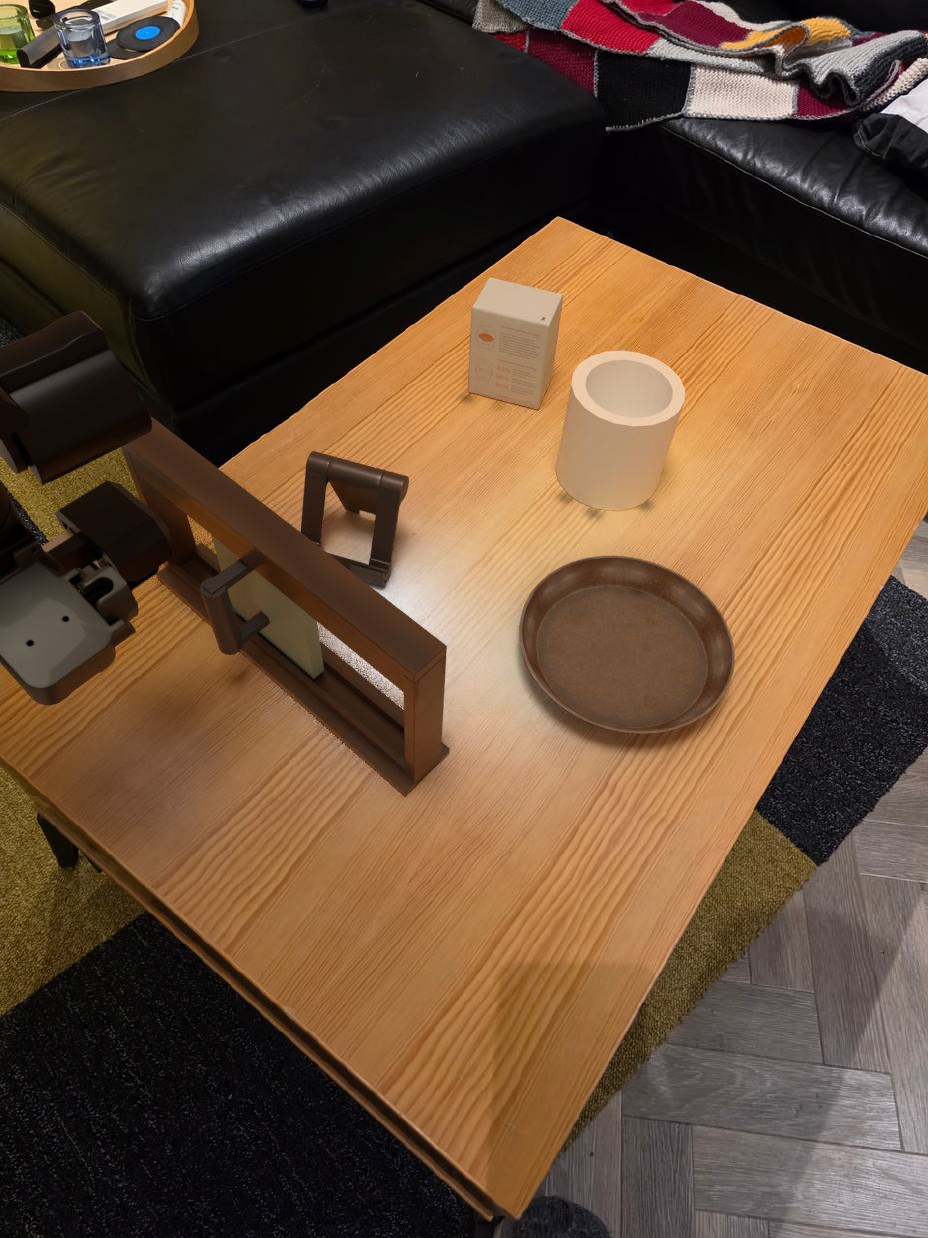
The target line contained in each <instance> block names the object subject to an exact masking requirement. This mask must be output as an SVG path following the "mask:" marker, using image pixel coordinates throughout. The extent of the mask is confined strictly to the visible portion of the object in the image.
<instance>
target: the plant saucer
mask: <svg viewBox="0 0 928 1238" xmlns="http://www.w3.org/2000/svg"><path fill="white" fill-rule="evenodd" d="M520 615H521V616H520V620H519V628H518V637H519V646H520V650H521V653H522V657H523V659H524V663H525V664H526V667H527V668H528V670H529V672H530V674H531V675H532V677H533V679H534V680H535V682H536V683H537V685H538V686H539V687H540V688H541V689H542V690H543V692H544V693H545V694H546V695H547V696H548V697H549V698H550V699H551V700H552V701H553V702H555V704H557V705H558V706H559V707H561V708H562V709H563V710H565V711H566V712H567V713H569V714H571V715H572V716H573V717H575V718H577V719H579V720H581V721H583V722H585V723H587V724H590V725H591V726H595V727H597V728H600V729H603V730H607V731H612V732H616V733H622V734H631V735H650V734H659V733H665V732H671V731H673V730H676V729H681V728H683V727H686V726H688V725H691V724H692V723H694V722H696V721H698V720H700V719H701V718H702V717H704V716H706V715H707V714H709V713H710V712H711V711H712V710H713V709H714V708H715V707H716V706H717V705H718V704H719V703H720V701H721V700H722V699H723V698H724V696H725V694H726V692H727V691H728V689H729V687H730V684H731V683H732V678H733V675H734V670H735V664H736V655H735V647H734V641H733V636H732V633H731V631H730V628H729V626H728V624H727V621H726V619H725V618H724V616H723V613H722V612H721V611H720V610H719V608H718V607H717V605H716V604H715V603H714V602H713V600H712V599H711V598H710V597H709V596H708V595H707V593H705V592H704V591H703V590H702V589H701V588H699V586H698V585H696V584H695V583H693V582H692V581H691V580H689V578H686V576H684V575H682V574H680V573H679V572H677V571H675V570H672V569H670V568H668V567H666V566H664V565H662V564H660V563H656V562H653V561H650V560H647V559H643V558H636V557H632V556H626V555H597V556H590V557H585V558H581V559H577V560H575V561H571V562H569V563H567V564H564V565H562V566H560V567H558V568H556V569H554V570H553V571H551V572H550V573H548V574H547V575H546V576H545V577H544V578H543V579H541V581H539V582H538V584H536V586H535V587H534V588H533V590H532V591H531V592H530V593H529V595H528V597H527V599H526V601H525V603H524V605H523V608H522V611H521V614H520Z"/></svg>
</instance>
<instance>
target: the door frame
mask: <svg viewBox="0 0 928 1238" xmlns="http://www.w3.org/2000/svg"><path fill="white" fill-rule="evenodd" d="M151 419H152V430H151V432H150V433H148V434H146V435H144V436H142V437H140V438H138V439H136V440H134V441H132V442H130V443H128V444H126V445H124V446H122V447H120V449H121V451H122V453H123V454H122V455H123V457H124V460H125V462H126V466H127V468H128V470H129V473H130V476H131V479H132V481H133V484H134V487H135V490H136V492H137V496H138V497H139V498H138V499H139V500H140V501H141V502H142V503H143V504H145V505H146V506H147V507H148V508H149V509H151V510H152V511H153V512H154V513H155V514H157V515H158V516H159V517H160V518H161V519H162V521H163V522H164V523H165V525H166V526H167V528H168V529H169V531H170V534H171V537H172V540H173V543H174V546H175V549H174V555H173V557H172V558H171V559H169V560H168V561H166V562H165V563H164V564H163V566H164V567H163V568H161V569H159V570H158V572H157V573H156V574H155V576H156V578H157V580H158V581H159V582H160V583H161V584H162V585H163V586H165V587H166V588H167V589H169V591H171V593H173V594H174V595H175V597H177V598H178V599H179V600H181V601H182V602H183V603H184V605H186V606H188V607H189V609H191V610H192V611H193V612H194V613H195V614H197V615H198V616H199V617H200V618H201V619H202V620H203V621H204V622H205V623H206V624H208V625H209V626H210V627H212V625H211V622H210V619H209V616H208V613H207V610H206V607H205V604H204V601H203V598H202V595H201V592H200V586H201V584H202V582H203V581H204V580H206V579H208V578H211V577H215V576H216V575H218V574H219V573H221V568H220V565H219V561H218V558H217V554H216V552H215V551H213V550H212V549H210V547H208V546H207V545H205V544H204V543H203V542H199V543H198V544H197V543H196V539H195V537H194V533H193V530H192V526H191V523H190V520H189V518H190V519H192V520H193V521H194V522H196V524H197V525H198V526H200V528H203V529H204V530H205V531H206V532H207V533H208V534H210V536H211V535H212V536H214V537H215V538H216V539H217V540H218V541H220V542H221V543H222V544H223V545H225V546H226V547H227V548H228V549H229V550H231V551H232V552H233V553H234V554H235V555H237V556H238V557H239V558H240V559H242V560H243V561H244V562H245V563H246V564H248V565H249V566H250V567H251V568H253V569H254V570H255V571H256V572H257V573H259V574H260V575H261V576H262V577H264V578H265V579H266V580H267V581H268V582H270V583H271V584H272V585H273V586H274V587H276V588H277V589H278V590H279V591H281V592H282V593H283V594H284V595H285V596H287V597H288V598H289V599H290V600H292V601H293V602H294V603H295V604H296V605H298V606H299V607H300V608H301V609H302V610H304V611H305V612H306V613H307V614H309V615H310V616H311V617H312V618H313V619H315V620H316V621H317V624H319V625H320V626H322V627H323V628H324V629H325V630H327V632H329V633H330V634H331V635H333V637H335V638H336V639H338V640H339V641H340V642H341V643H342V644H344V645H345V646H346V647H347V648H349V649H350V650H351V651H352V652H353V653H354V654H356V655H357V656H358V657H359V658H361V659H362V660H363V661H364V662H366V663H367V664H368V665H369V666H371V667H372V668H373V669H374V670H375V671H376V672H378V673H379V674H380V675H382V676H383V677H384V678H385V679H386V680H388V681H389V682H390V683H391V684H392V685H394V686H395V687H396V688H397V689H398V690H400V691H401V692H402V693H403V708H402V707H401V706H399V705H398V704H397V703H396V702H395V701H393V700H392V699H391V698H390V697H388V695H386V694H385V693H384V692H383V691H381V689H379V688H378V687H376V685H374V684H373V683H372V682H371V681H370V680H368V679H367V678H366V677H365V676H363V674H361V673H360V672H359V671H357V670H356V669H355V668H353V666H352V665H350V664H349V663H348V662H347V661H345V660H344V659H343V658H342V657H341V656H339V655H338V654H337V653H336V652H335V651H334V650H333V649H331V648H330V647H329V646H327V645H326V644H325V643H324V642H322V641H321V640H320V645H321V652H322V658H323V664H324V671H323V672H322V673H321V674H319V675H318V676H317V677H316V678H315V679H313V678H311V677H310V676H309V675H308V674H307V673H306V672H304V671H303V670H302V669H301V668H300V667H299V666H297V665H296V664H295V663H294V662H293V661H292V660H290V659H289V658H288V657H287V656H286V655H285V654H283V653H282V652H281V651H280V650H279V649H278V648H276V647H275V646H274V645H273V644H272V643H271V642H269V641H268V640H267V639H266V638H265V637H264V636H262V635H261V634H260V633H259V632H258V633H257V634H256V635H254V636H253V637H252V638H251V639H249V640H248V641H247V642H245V643H244V644H243V646H242V648H241V650H240V651H239V653H241V654H242V655H243V656H245V658H246V659H248V660H249V661H250V662H251V663H252V664H253V665H255V667H256V668H258V669H259V670H260V671H262V673H264V674H265V675H266V676H267V677H268V678H269V679H271V681H273V682H274V683H275V684H276V685H277V686H278V687H279V688H281V689H282V691H284V692H285V693H287V694H288V695H289V696H290V697H291V698H292V699H293V700H295V702H297V703H298V704H299V705H300V706H301V707H302V708H303V709H304V710H306V711H307V712H308V713H309V714H310V715H312V716H313V717H314V718H315V719H316V720H317V721H318V722H319V723H321V724H322V725H323V726H324V727H325V728H326V729H327V730H328V731H329V732H331V733H332V734H333V735H334V736H335V737H336V738H337V739H338V740H340V741H341V742H342V743H343V744H345V745H346V747H348V748H349V749H350V750H351V751H352V752H354V753H355V754H356V755H357V757H359V758H361V760H362V761H364V762H365V763H366V764H367V765H369V767H370V768H372V769H373V770H374V771H375V772H376V773H377V774H379V775H380V776H381V777H382V778H383V779H384V780H385V781H387V782H388V783H389V784H390V785H391V786H392V787H393V788H395V789H396V790H397V792H399V793H400V794H401V795H402V796H404V797H407V795H408V794H410V792H411V791H413V790H414V789H415V788H416V787H417V786H418V785H419V784H420V783H421V782H422V781H423V780H424V779H425V778H426V777H427V776H428V775H429V774H430V773H431V772H432V771H433V770H434V769H435V768H436V767H437V766H438V765H439V764H440V763H442V761H443V760H444V759H445V758H446V757H447V756H448V755H449V754H450V751H451V749H450V747H449V746H448V745H446V743H444V742H443V724H444V710H445V709H444V707H445V692H446V691H445V688H446V671H447V651H448V649H447V648H448V646H447V644H445V643H444V642H442V640H440V639H439V638H437V637H436V636H435V635H434V634H432V633H431V632H430V631H428V630H427V629H426V628H425V627H423V626H422V625H421V624H420V623H419V622H417V621H415V619H413V618H412V617H410V616H409V615H408V614H407V613H405V612H404V611H403V610H402V609H400V608H399V607H398V606H396V605H395V604H394V603H392V602H391V601H389V600H388V598H386V597H385V596H384V595H382V594H381V593H379V592H378V591H377V590H376V589H374V588H373V587H371V586H370V585H369V584H368V583H366V581H364V580H361V579H360V578H359V577H357V576H356V575H355V574H354V573H352V572H351V571H350V570H348V569H347V568H346V567H345V566H343V565H342V564H341V563H339V562H338V561H337V560H336V559H334V558H333V557H332V556H330V555H329V554H328V553H329V552H327V551H325V550H324V549H323V548H322V547H321V548H320V547H319V546H317V545H316V544H315V543H314V542H312V541H311V540H310V539H308V538H307V537H306V536H305V535H303V534H302V533H301V531H300V530H298V529H297V528H296V527H295V526H293V525H292V524H290V523H289V522H288V521H287V520H285V519H284V518H283V517H281V515H279V514H278V513H276V512H275V511H274V510H273V509H271V508H270V507H269V506H267V505H266V504H264V503H263V502H262V501H261V500H259V499H258V498H257V497H255V495H253V494H252V493H250V492H249V491H248V490H247V489H246V488H244V487H243V486H242V485H240V484H239V483H237V481H235V480H234V479H233V478H231V477H230V476H228V475H227V474H226V472H225V473H224V472H223V471H222V470H221V469H219V468H218V467H217V466H216V465H214V464H213V463H212V462H210V461H209V460H208V459H207V458H205V457H204V456H202V454H200V453H199V452H198V451H197V450H195V449H194V448H193V447H191V446H190V445H189V444H188V443H186V442H185V441H183V440H182V439H181V438H180V437H178V436H177V435H176V434H174V433H173V432H172V431H171V430H169V429H168V428H167V427H166V426H164V425H163V424H161V423H160V422H159V421H158V420H157V419H156V418H154V417H152V416H151ZM234 614H235V618H236V621H237V625H238V628H239V627H240V626H242V625H243V624H244V623H246V621H245V620H244V619H243V618H241V617H240V616H239V615H238V614H237V613H236V612H234Z"/></svg>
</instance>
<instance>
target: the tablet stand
mask: <svg viewBox="0 0 928 1238" xmlns="http://www.w3.org/2000/svg"><path fill="white" fill-rule="evenodd" d="M304 471H305V472H304V482H303V483H304V484H303V496H302V508H301V520H300V521H301V522H300V532H301V533H302V534H303V535H305V536H306V537H307V538H308V539H310V540H311V541H312V542H314V543H315V544H316V545H317V546H319V547H320V548H321V549H322V547H321V546H322V537H323V536H322V535H323V526H324V517H325V516H324V515H325V505H326V504H325V503H326V495H327V487H328V484H329V485H331V488H332V490H333V492H334V493H335V495H336V497H337V498H338V500H339V502H340V503H341V505H342V507H343V509H344V510H345V511H347V512H350V513H353V514H357V515H360V513H361V512H364V513H367V514H371V515H374V516H375V517H374V525H373V533H372V540H371V541H372V542H371V549H370V555H369V560H368V563H364V562H362V561H358V560H355V559H351V558H347V557H344V556H341V555H336V554H333V553H330V552H327V553H328V554H329V555H330V556H332V557H333V558H334V559H336V560H337V561H338V562H339V563H341V564H342V565H343V566H345V567H346V568H347V569H348V570H350V571H351V572H352V573H354V574H355V575H356V576H357V577H359V578H360V579H361V580H363V581H364V582H368V583H371V584H374V585H379V586H380V587H381V586H382V587H385V586H386V585H387V583H388V581H389V578H390V574H391V570H392V569H391V568H392V563H393V562H392V561H393V554H394V547H395V542H396V533H397V527H398V519H399V514H400V507H401V505H402V502H403V501H404V499H405V498H406V496H407V493H408V489H409V485H410V478H409V476H408V475H404V474H400V473H397V472H393V471H390V470H386V469H383V468H378V467H375V466H371V465H367V464H364V463H360V462H357V461H353V460H349V459H345V458H341V457H338V456H334V455H330V454H327V453H323V452H320V451H315V450H312V451H311V452H310V453H309V454H308V457H307V459H306V462H305V470H304Z"/></svg>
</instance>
